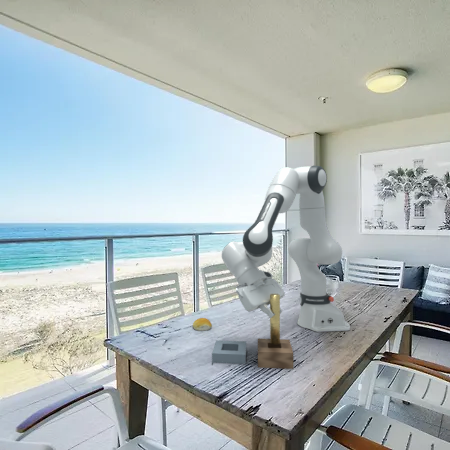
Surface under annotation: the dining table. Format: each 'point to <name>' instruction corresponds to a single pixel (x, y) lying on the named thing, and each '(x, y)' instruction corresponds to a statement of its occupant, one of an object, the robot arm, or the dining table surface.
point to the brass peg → (275, 319)
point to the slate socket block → (229, 352)
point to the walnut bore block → (275, 354)
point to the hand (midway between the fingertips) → (276, 314)
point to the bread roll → (202, 324)
